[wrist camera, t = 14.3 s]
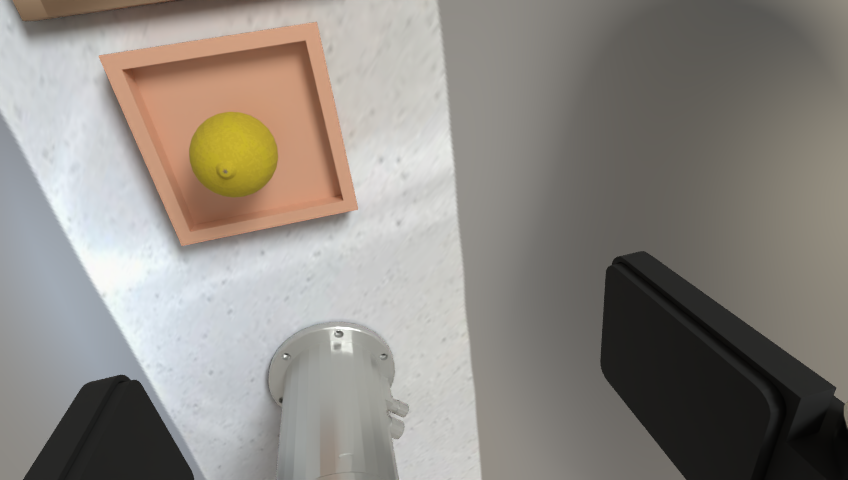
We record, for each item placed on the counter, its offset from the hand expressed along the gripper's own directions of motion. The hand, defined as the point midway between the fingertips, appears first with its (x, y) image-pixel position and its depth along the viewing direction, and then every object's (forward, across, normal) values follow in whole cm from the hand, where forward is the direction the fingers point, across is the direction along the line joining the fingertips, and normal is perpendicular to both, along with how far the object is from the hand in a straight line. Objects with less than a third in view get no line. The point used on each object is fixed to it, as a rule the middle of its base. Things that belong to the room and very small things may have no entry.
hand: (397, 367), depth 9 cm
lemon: (+30, +8, +1) cm, 30 cm away
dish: (+30, +7, +1) cm, 31 cm away
